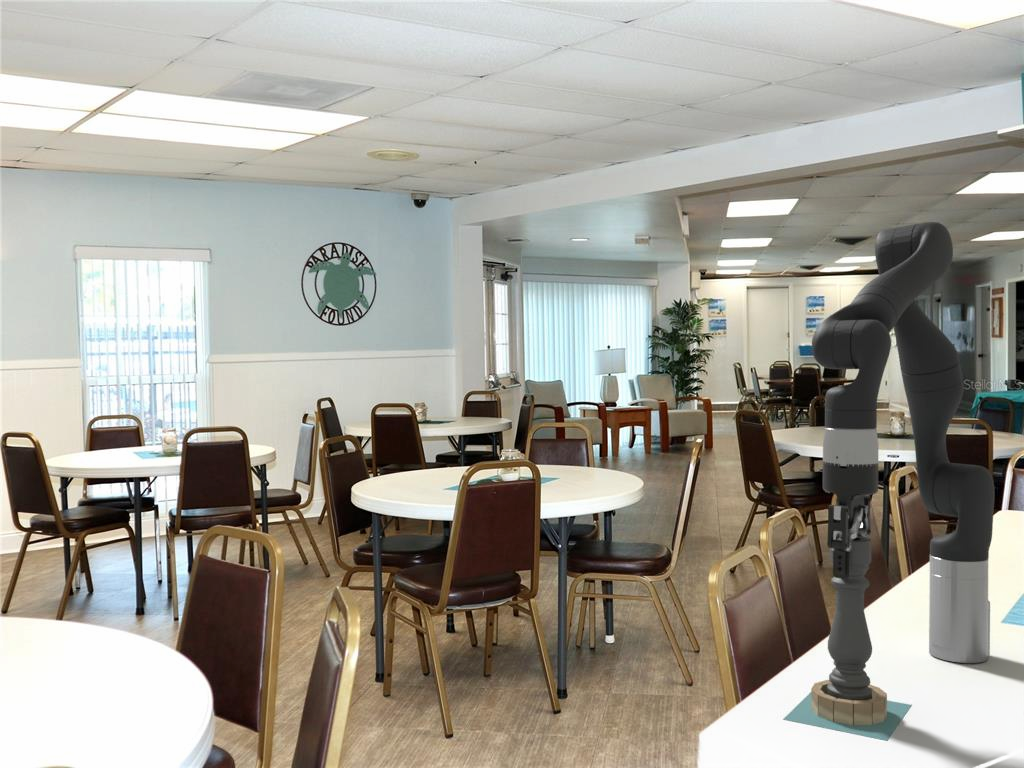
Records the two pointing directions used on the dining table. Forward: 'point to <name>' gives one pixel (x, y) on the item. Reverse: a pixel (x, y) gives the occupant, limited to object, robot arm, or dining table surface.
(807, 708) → the runner mat
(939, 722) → the dining table surface
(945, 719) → the dining table surface
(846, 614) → the candle holder
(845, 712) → the segmented wooden ring
